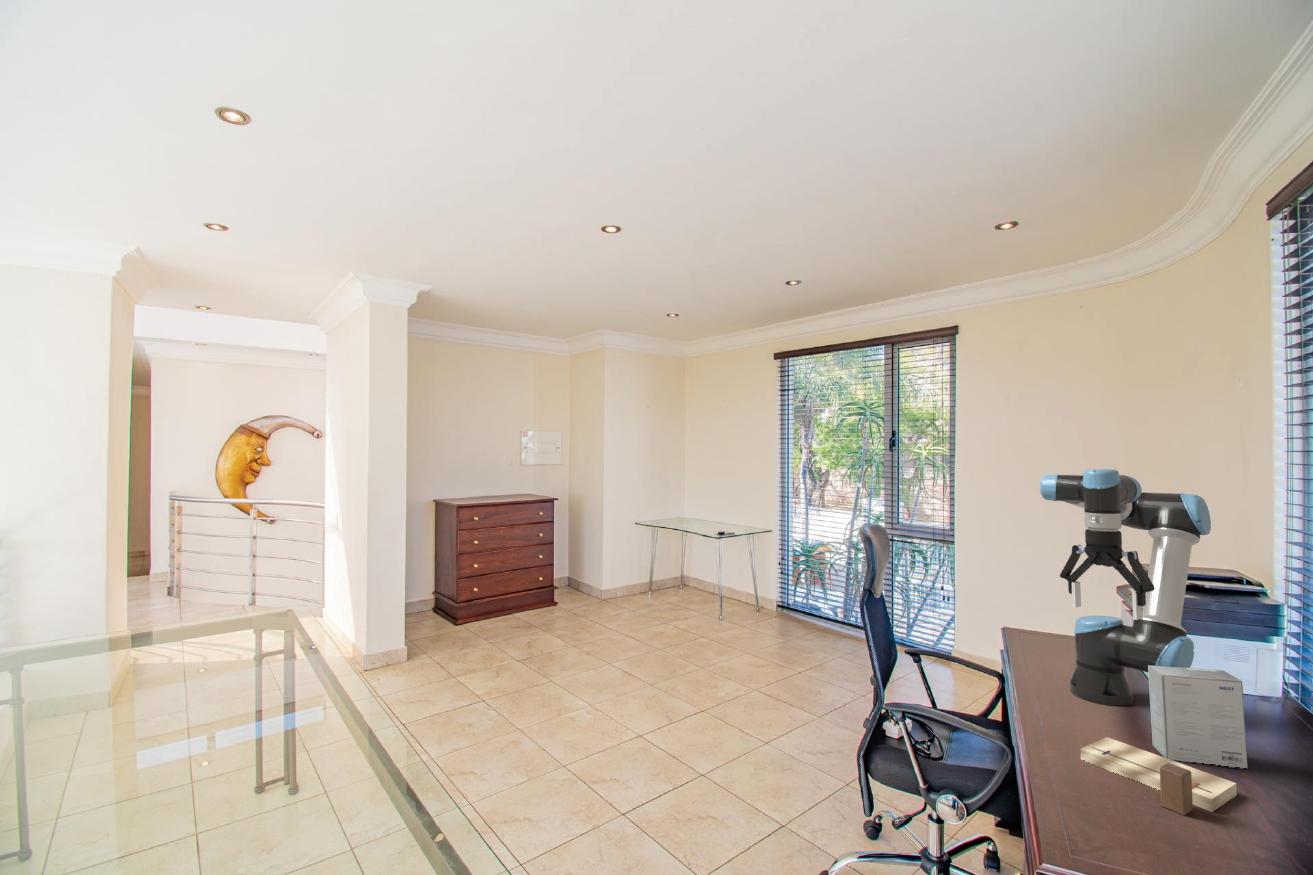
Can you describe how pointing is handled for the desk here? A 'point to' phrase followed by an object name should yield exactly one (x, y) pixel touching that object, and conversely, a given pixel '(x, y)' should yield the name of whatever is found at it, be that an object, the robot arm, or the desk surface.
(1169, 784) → the wooden block
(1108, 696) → the robot arm
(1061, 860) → the desk surface
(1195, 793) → the birch board
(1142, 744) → the desk surface
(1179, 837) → the desk surface
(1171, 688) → the hard drive box
